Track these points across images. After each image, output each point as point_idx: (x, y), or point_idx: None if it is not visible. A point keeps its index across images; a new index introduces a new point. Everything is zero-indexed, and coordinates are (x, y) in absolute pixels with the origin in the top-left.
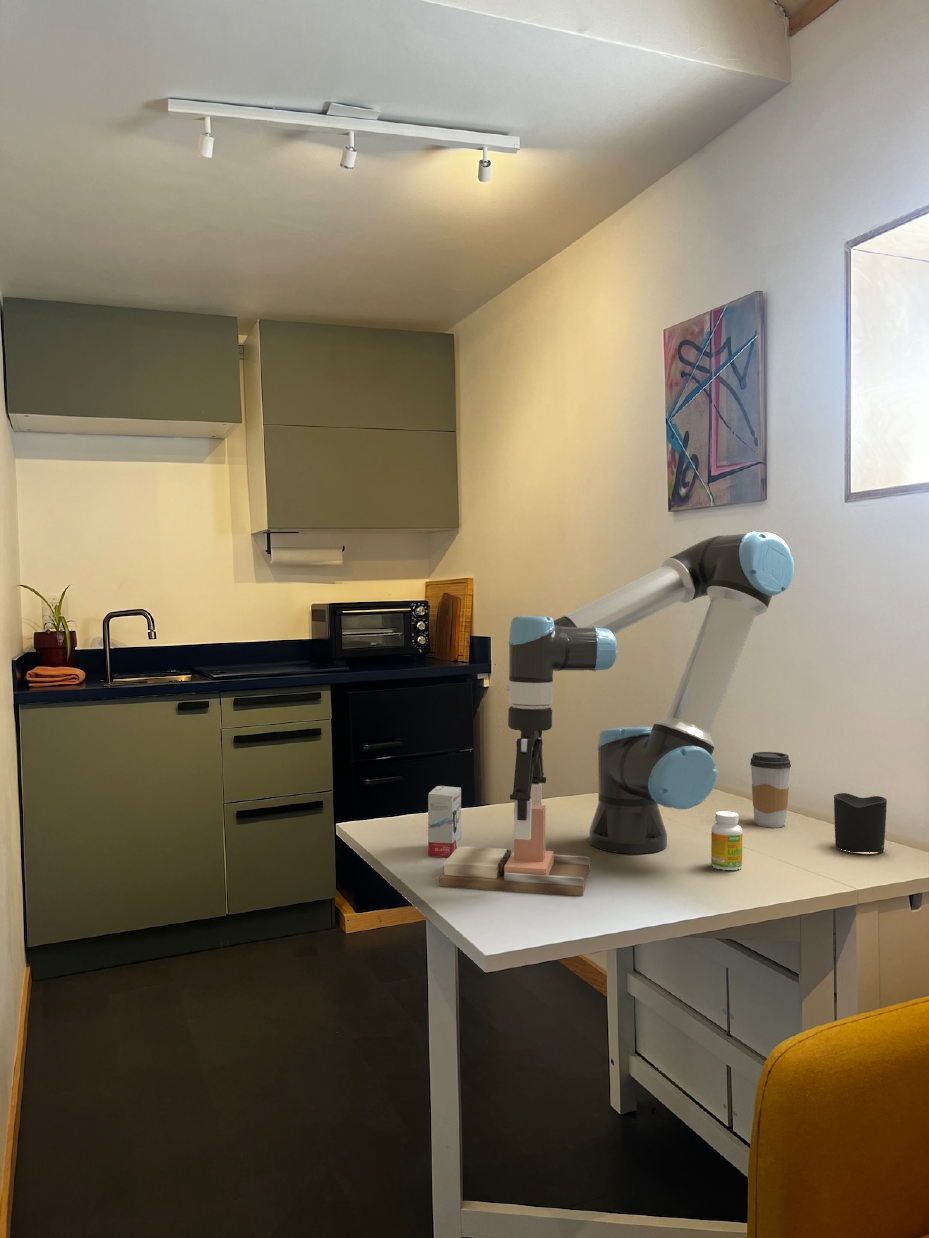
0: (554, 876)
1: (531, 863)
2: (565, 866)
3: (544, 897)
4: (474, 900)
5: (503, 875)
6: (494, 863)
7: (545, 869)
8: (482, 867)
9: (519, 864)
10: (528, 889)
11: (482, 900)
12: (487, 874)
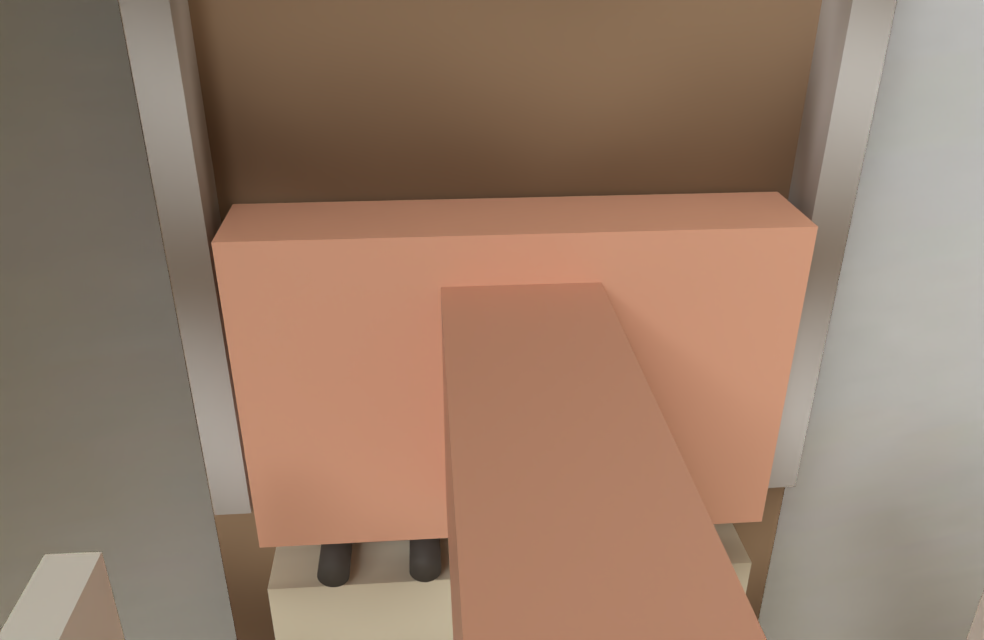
0: (855, 132)
1: (661, 362)
2: (309, 83)
3: (901, 156)
4: (947, 521)
5: None
6: None
7: (816, 229)
8: None
9: (700, 438)
10: None
11: (949, 486)
12: None
